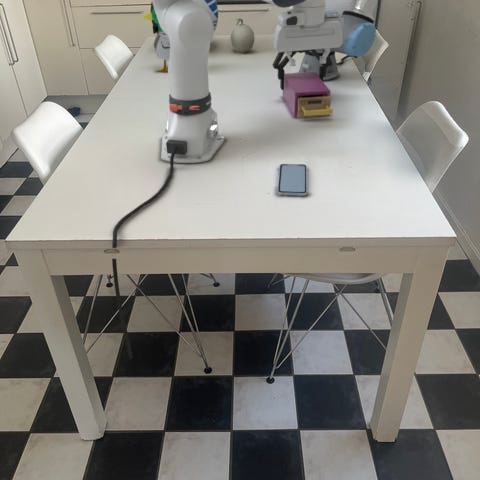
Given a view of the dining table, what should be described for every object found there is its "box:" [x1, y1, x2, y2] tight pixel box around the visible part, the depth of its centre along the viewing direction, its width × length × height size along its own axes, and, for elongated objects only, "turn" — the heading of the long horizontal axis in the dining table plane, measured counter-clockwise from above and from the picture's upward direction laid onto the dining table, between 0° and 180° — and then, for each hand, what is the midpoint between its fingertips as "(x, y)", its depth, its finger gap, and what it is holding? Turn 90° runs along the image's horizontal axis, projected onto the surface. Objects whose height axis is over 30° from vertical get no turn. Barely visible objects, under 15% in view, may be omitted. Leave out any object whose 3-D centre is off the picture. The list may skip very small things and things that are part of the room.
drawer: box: [296, 94, 334, 119], centre depth 168 cm, size 24×10×6 cm, turn 7°
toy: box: [141, 8, 170, 73], centre depth 204 cm, size 8×20×24 cm, turn 69°
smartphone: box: [277, 163, 308, 197], centre depth 132 cm, size 7×1×15 cm
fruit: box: [230, 18, 255, 53], centre depth 228 cm, size 10×12×15 cm
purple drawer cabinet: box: [282, 72, 331, 119], centre depth 174 cm, size 20×11×8 cm, turn 7°
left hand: (307, 64), depth 155 cm, fingers open, 8 cm apart
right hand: (301, 87), depth 178 cm, fingers open, 13 cm apart
